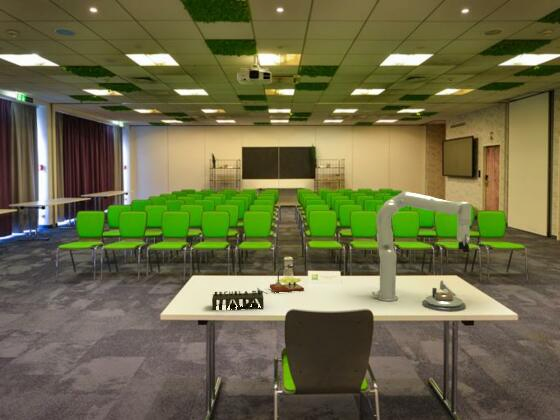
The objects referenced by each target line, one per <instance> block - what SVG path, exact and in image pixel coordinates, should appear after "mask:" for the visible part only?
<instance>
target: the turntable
mask: <svg viewBox="0 0 560 420" xmlns="http://www.w3.org/2000/svg"><path fill="white" fill-rule="evenodd" d="M437 291H438V290H437V288H436V287H432V291H431V292H432V294H431V295H427V296H426V297H425V300H426V303H427V304H429V305H432V306H436V307H445V308H453V307H459V306H461V305H462V302H463V299H461V298H459V297H457V296H453V294H451V293H448V292H441V291H439V292H437Z"/></svg>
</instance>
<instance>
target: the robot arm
mask: <svg viewBox="0 0 560 420" xmlns="http://www.w3.org/2000/svg"><path fill="white" fill-rule="evenodd" d="M406 206H407V207H412V208H416V209H417V208H418V209H420V210H426V211H433V212H438V213H440V214H441V213H442V214H448V215H451V216H455V215H457V219H456V220H457V232H456V240H458V241H457V242H458V243H457V245H458V250H460V251H461V250H462V252H463V253H469V252H470V236H471V235H470V234H471V233H470V232H471V231H470V226H471V225H472V202H470V201H452V200H450V201H449V200H444V199H440V198H436V197H434V196H431V195H427V194H421V193H417V192H412V191H407V190H404V191H402V192H400V193H398V194H397V195H395V196H393V197H392V198H390V199H388V200H386V201H385V202H384V203H383V205H382V206H381V208H380V209H379V210H378V211H377V214H376V228H377V234H376V241H377V248H378V254H379V289H378V291H371V295H372V296H376V298H377V300H379V301H381V302H383V301H385V302H395V301H398V300H399V297H398V295H396V281H397V280H396V279H397V278H396V277H397V276H396V275H397V273H396V271H397V252H396V251H395V248H394V233H393V230H392V218H393V216H394V215H396V213H398V211H399V210H401V209H402V208H405V207H406Z"/></svg>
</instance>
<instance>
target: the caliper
mask: <svg viewBox="0 0 560 420" xmlns="http://www.w3.org/2000/svg"><path fill="white" fill-rule="evenodd" d="M439 289H440V290H446V291H447V292H452V294H453V297H457V294H456V293H455V292H454V291H452V290H451V288H449V287H448V286H447V284H445V282H444V280H443V279H441V280H440V282H439Z"/></svg>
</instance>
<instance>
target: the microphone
mask: <svg viewBox="0 0 560 420" xmlns="http://www.w3.org/2000/svg"><path fill="white" fill-rule="evenodd" d="M294 266H295V265H294V264H293V263H289V264H287V265H284V266H282V267H281V268H280V269H278V271H277V281H276V282H275V283H270V285H269V289H270V288H271V289H272V290H271V289H270V290H271V292H273V291H274V292H273V293H275V292H276V293H278V294H280V293H279V292H288V293H293V292H292V291H299V292H305V287H303V286H301V285H300V284H298V283H297V282H295V281H294V282H293V281H292V282H293V283H292V282H288V283H284V284H282V283H281V282H280V272H281V271H282V270H283V269H284V268H288V269H294V268H295V267H294ZM256 290H257V291H256V293H257V292H258V291H261V292H260V293H265V294H267V292H265V291H263V290H262V289H260V288H258V287H257V288H256ZM276 293H275V294H276Z"/></svg>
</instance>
